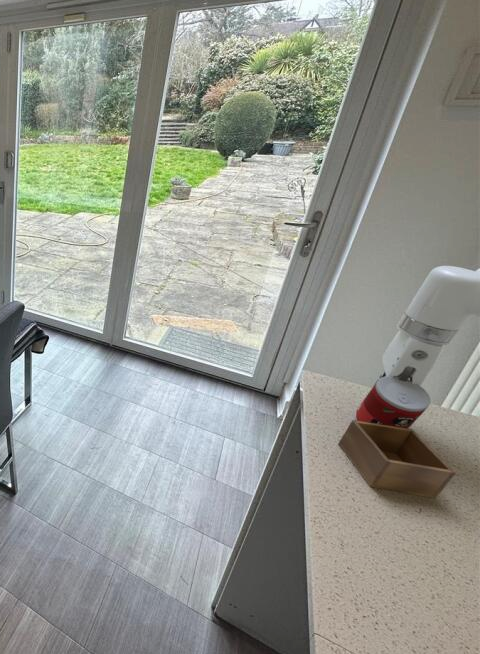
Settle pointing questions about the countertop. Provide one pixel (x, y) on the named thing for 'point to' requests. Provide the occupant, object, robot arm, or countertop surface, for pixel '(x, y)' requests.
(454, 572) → the countertop surface
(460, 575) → the countertop surface
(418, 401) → the canned food
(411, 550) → the countertop surface
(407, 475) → the box
